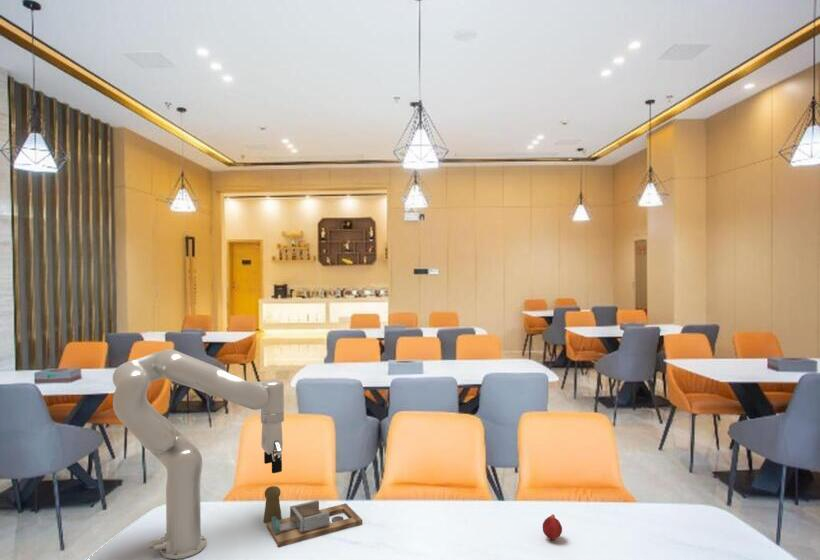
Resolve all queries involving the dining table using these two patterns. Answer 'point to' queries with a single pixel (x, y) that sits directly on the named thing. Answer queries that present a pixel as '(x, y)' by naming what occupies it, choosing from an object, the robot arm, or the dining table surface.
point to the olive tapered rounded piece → (272, 504)
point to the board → (337, 525)
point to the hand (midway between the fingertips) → (272, 467)
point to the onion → (552, 527)
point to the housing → (297, 518)
